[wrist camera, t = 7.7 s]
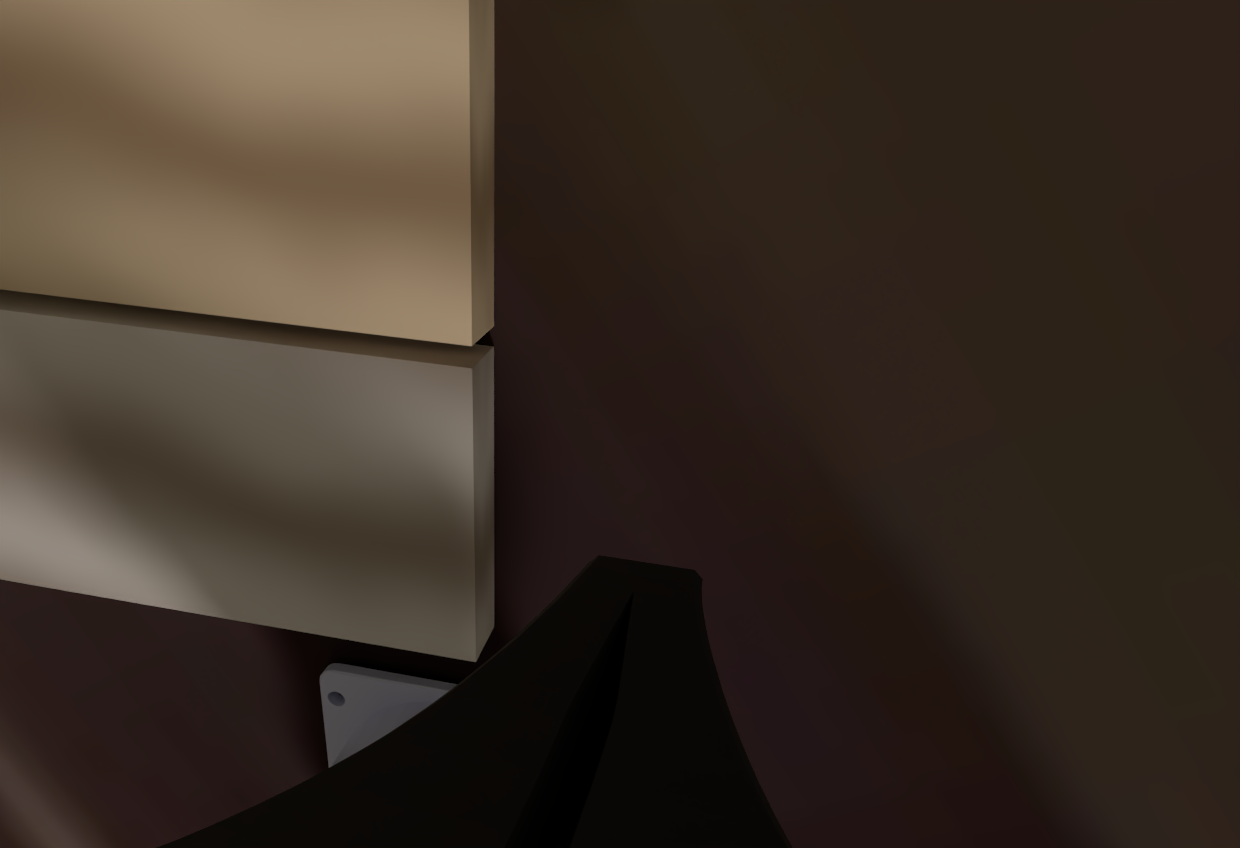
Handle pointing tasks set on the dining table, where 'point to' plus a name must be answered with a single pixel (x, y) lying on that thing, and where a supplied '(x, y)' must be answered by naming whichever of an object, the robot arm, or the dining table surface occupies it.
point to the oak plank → (254, 159)
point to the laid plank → (250, 470)
